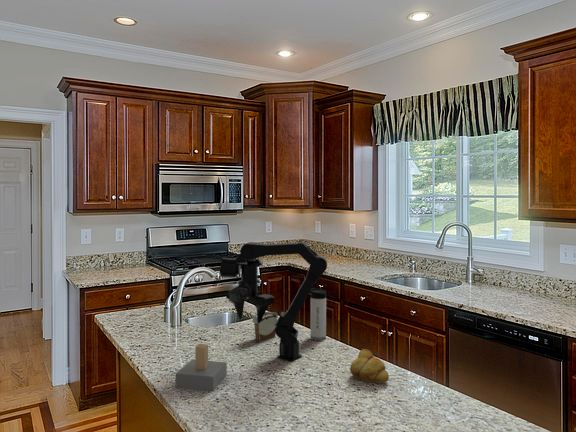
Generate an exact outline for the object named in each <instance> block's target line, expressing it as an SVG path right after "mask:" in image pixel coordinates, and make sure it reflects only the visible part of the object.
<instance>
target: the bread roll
mask: <svg viewBox="0 0 576 432" xmlns="http://www.w3.org/2000/svg"><path fill="white" fill-rule="evenodd" d="M349 367H350V368H349V371H350V374H351V375H352V376H353V377H354V378H356V379H360V381H364V382H365V383H375V384H384V383H387V382H388V381H389V372H388V370H386V365H385V363H384V362H383V361H382V360H381V359H380V358H378V357H375V356H374V355H373V353H372V352H371V350H369V349H367V348H363V349H361V350H360V351H359V353H358V355H357V358H355V359H354V360H353V361H352V362H351V364H350V366H349Z"/></svg>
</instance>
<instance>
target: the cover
mask: <svg viewBox="0 0 576 432" xmlns="http://www.w3.org/2000/svg"><path fill="white" fill-rule="evenodd" d="M194 348H195V356H194V357H195V359H190V361H189V362H187V363H186V364H185V365H184V366H183V367H182V368H180V369H179V370H178V371H177V372H176V373H175V388H176V389H187V390H194V391H195V390H196V391H208V392H214V391H215V390H216V389H217V388H218V386H219V385H220V384H221V383H222V382H223V381H224V380H225V378H226V377H227V376H228V375H227V374H228V373H227V371H228V370H227V366H228V365H227V363H228V362H226V361H225V362H224V361H213V360H209V344H206V343H198V344H197V345H196V346H195V347H194Z"/></svg>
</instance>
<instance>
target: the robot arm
mask: <svg viewBox="0 0 576 432" xmlns="http://www.w3.org/2000/svg"><path fill="white" fill-rule="evenodd" d="M279 255H280V256H282V255H284V256H285V255H300V256H301V258H302V259H303V260H304V261H305V262H306V263H307V264H308V265H309V267H308V271H307V274H306V276H305V278H304V281H303V282H302V284H301V285H300V288H299V289H298V291H297V293H296V295H295V297H294V298H293V300H292V302H291V304H290V306H289V307H288V309H287V311H285V312H283V311H281V312H280V314H279V317H278V318H277V321H276V323H275V326H276V328H275V332H276V336H277V338H279V344H278V346H279V350H278V351H279V352H278V353H279V355H277V356H276V357H277V358H278V359H281V360H285V361H288V362H293V361H296V360H297V359H299V358H302V354H300V341H299V340H298V336H299V331H298V329H296V328H295V327H294V325H295V322H296V319H297V317H298V314H299V312H300V311H301V309H302V307H303V305H304V304H305V302H306V300H307V298H308V296H309V295H310V294H311V289H312V288H314V285H315V284H316V282H317V281H318V280H319V279H320V278H321V277H322V275H323V274H324V273H325V272H326V271H327V268H328V260H327V258H326V257H325V256H324V255H322V254H318V253H316V251H314V250H313V249H312V248H311V247H309V246H308V245H307V244H306V243H305V242H303V241H300V242H292V243H291V242H289V243H288V242H287V243H273V244H272V243H270V244H268V243H260V242H255V241H249V242H247V243H245V244H243V245H242V246H241V247H240V252H239V255H238V256H236V258H227V257H222V258H221V262H220V266H219V267H220V268H219V275H220V278H238V276H239V275H241V279H240V280H238V284H237V286H235V287H233V288H232V289H230V290H227V292H226V293H225V295H226V296H225V298H226V299H227V300H228V302H231V303H232V304H233V307H234V309H235V311H236V313H237V316H238V319H240V320H241V319H242V318H243V315H244V308H245V300H250V301H253V302H254V303H255V304H254V307H255V308H256V314H257V321H258V323H260V322H261V320H262V318H263V316H264V314H265V312H267V309H269V307H270V306H272V304H274V303H275V296H273V294H267V293H263V294H261V291H259V290H258V284H260V281H261V280H260V279H258V266H259V267H260V266H261V267H262V265H264V263H263V261H261V259H260V258H262V257H267V256H279ZM255 259H256V260H255ZM245 260H246V262H244V261H245Z"/></svg>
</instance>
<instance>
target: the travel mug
mask: <svg viewBox="0 0 576 432" xmlns="http://www.w3.org/2000/svg"><path fill="white" fill-rule="evenodd" d="M326 337H327V291H326V290H325V289H322V288H318V287H317V288H316V287H312V289H311V291H310V339H312V340H313V341H314V340H315V341H323V340H326Z"/></svg>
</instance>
